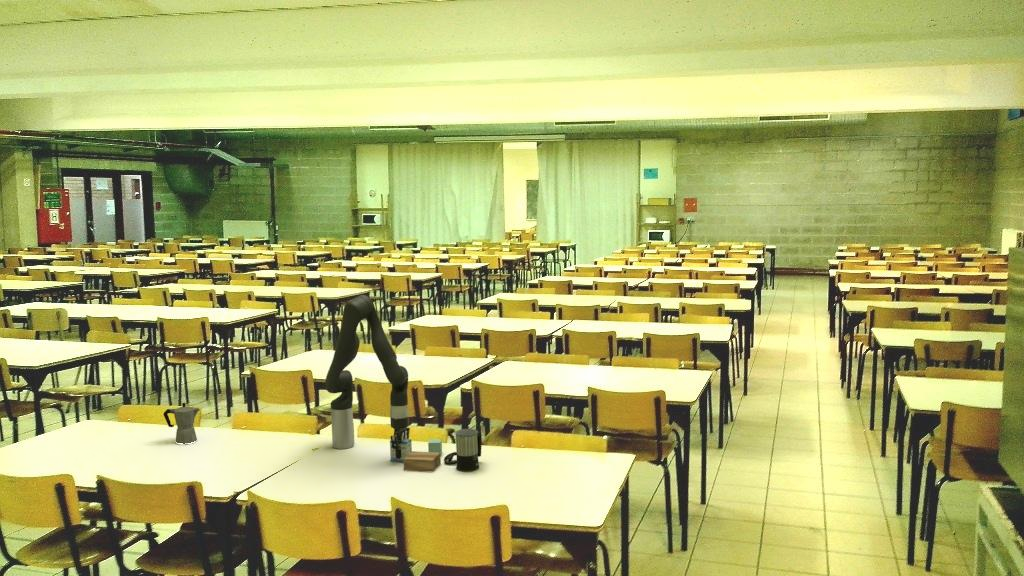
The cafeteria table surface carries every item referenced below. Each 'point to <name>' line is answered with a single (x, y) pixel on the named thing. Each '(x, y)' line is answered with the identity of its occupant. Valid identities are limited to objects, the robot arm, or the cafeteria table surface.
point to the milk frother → (466, 450)
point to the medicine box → (405, 450)
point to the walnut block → (422, 461)
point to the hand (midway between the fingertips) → (401, 455)
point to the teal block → (435, 446)
